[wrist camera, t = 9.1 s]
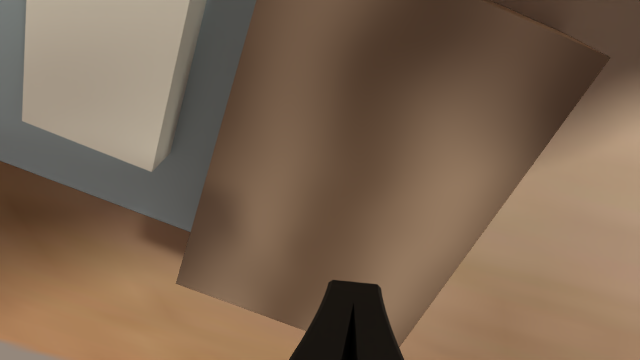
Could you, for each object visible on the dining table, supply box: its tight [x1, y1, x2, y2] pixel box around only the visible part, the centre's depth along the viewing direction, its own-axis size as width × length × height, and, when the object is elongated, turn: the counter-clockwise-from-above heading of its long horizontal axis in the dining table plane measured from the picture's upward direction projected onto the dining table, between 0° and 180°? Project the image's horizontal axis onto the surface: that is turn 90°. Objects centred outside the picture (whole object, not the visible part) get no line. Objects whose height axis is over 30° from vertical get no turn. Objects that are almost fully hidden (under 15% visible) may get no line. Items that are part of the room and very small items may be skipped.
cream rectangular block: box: [22, 0, 207, 172], centre depth 18 cm, size 6×9×2 cm, turn 158°
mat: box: [0, 0, 256, 232], centre depth 20 cm, size 14×16×1 cm
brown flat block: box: [176, 0, 610, 347], centre depth 19 cm, size 11×16×4 cm
